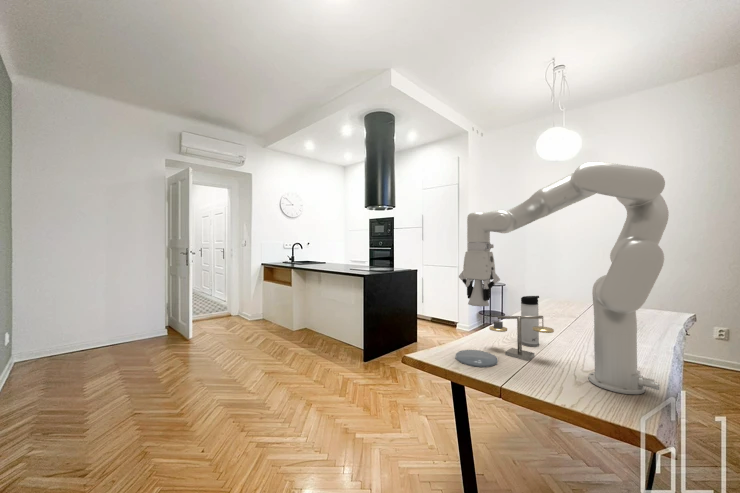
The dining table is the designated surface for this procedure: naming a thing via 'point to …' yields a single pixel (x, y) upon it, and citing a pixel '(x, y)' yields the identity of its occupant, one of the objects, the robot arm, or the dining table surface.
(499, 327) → the tipped balance
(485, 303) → the flask
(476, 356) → the slate dish
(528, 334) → the travel mug
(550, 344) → the dining table surface
